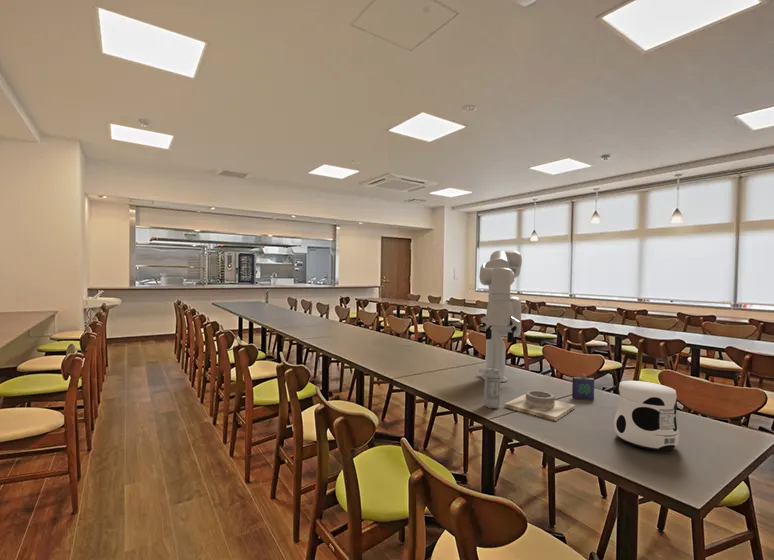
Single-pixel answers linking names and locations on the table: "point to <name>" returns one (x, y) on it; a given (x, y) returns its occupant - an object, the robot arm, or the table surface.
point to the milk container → (647, 415)
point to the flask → (583, 387)
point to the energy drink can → (492, 388)
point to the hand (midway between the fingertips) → (499, 340)
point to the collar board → (538, 411)
